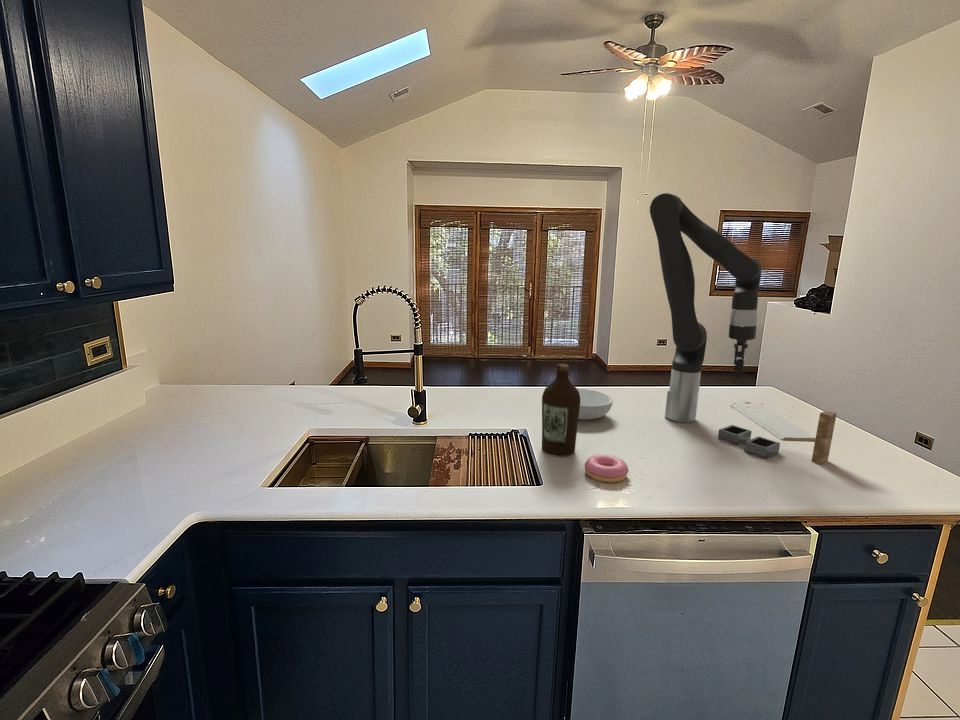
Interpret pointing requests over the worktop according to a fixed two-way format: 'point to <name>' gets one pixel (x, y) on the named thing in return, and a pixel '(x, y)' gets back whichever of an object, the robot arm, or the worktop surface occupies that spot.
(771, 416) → the baseboard
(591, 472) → the doughnut
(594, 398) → the serving bowl
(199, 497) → the worktop surface
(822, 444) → the slat
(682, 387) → the robot arm
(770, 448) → the endcap
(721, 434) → the endcap
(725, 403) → the worktop surface
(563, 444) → the olive oil
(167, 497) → the worktop surface
